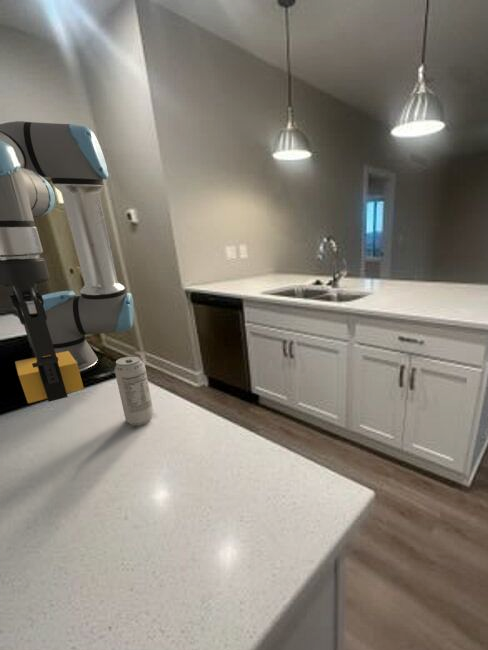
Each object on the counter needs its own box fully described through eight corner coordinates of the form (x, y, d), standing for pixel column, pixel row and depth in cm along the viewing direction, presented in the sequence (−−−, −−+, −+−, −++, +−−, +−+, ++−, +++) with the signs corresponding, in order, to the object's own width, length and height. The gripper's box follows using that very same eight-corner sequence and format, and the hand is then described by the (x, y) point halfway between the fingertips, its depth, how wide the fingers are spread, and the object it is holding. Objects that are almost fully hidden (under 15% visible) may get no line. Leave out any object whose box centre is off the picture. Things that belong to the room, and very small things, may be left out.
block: (23, 387, 61) (14, 361, 60) (75, 374, 66) (68, 350, 64) (28, 403, 56) (18, 375, 54) (84, 389, 61) (77, 362, 59)
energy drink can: (150, 410, 84) (139, 353, 78) (157, 421, 79) (146, 361, 74) (123, 418, 80) (110, 359, 75) (129, 430, 76) (115, 367, 70)
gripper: (-19, 254, 58) (22, 377, 66) (-18, 264, 43) (34, 420, 52) (36, 251, 62) (68, 367, 71) (53, 260, 48) (91, 404, 56)
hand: (54, 389), depth 61 cm, fingers closed on block, 8 cm apart
